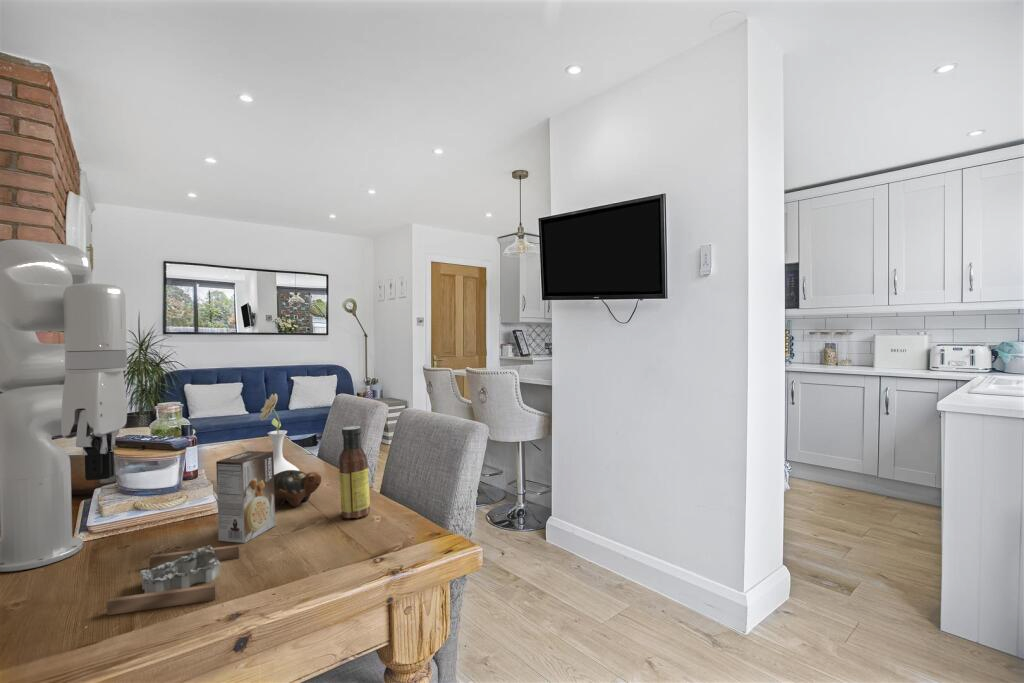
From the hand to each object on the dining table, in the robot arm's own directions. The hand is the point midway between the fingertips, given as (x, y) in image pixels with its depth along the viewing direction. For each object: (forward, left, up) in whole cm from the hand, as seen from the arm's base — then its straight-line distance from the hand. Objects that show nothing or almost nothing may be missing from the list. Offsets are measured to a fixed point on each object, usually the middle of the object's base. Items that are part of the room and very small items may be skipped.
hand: (100, 478), depth 79 cm
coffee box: (+17, +19, -19) cm, 32 cm away
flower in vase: (+17, +56, -19) cm, 62 cm away
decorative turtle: (+23, +36, -19) cm, 47 cm away
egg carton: (+11, 0, -19) cm, 22 cm away
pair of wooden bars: (+11, 0, -18) cm, 21 cm away
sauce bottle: (+38, +23, -19) cm, 48 cm away
